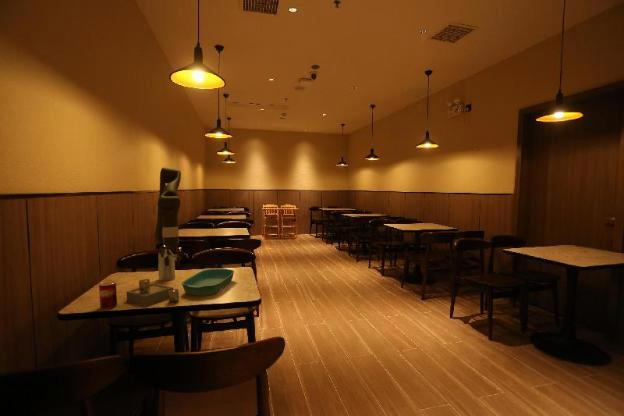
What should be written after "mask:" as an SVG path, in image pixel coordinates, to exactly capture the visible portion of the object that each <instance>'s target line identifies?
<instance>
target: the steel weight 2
mask: <svg viewBox="0 0 624 416" xmlns="http://www.w3.org/2000/svg"><path fill="white" fill-rule="evenodd" d="M179 293H180V292H179V289H178V288H173V289H171V290H168V299H167V300H168V302H167V303H168V304H177V303H179V302H180V298H179V297H180V296H179V295H180V294H179Z"/></svg>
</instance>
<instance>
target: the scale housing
mask: <svg viewBox="0 0 624 416" xmlns="http://www.w3.org/2000/svg"><path fill="white" fill-rule="evenodd" d="M153 285H154V286H159V287H163V288H167V289H164V290H161V291H158V292H154V293H151V294H148V295H143V294H139V293H136V292H133V291H137V290H139V287H138V288H134V289H131V290H128V291H126V292H125V293H126V302H129V303H132V304H135V305H140V306H143V307H148V306H151V305H154V304H156V303H159V302H162V301H165V300H168V290H171V289H174V287H172V286H169V285H168V286H167V285H164V284H159V283H151V284H150V286H153Z"/></svg>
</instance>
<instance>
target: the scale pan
mask: <svg viewBox="0 0 624 416" xmlns="http://www.w3.org/2000/svg"><path fill="white" fill-rule="evenodd" d="M164 289H167V288H163V287H159V286H154V285H153V286H150V292H148V293H139V290H137V291H133V292H136V293H139V294H143V295H148V294H151V293H154V292H158V291H161V290H164Z"/></svg>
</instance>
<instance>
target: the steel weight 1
mask: <svg viewBox="0 0 624 416" xmlns="http://www.w3.org/2000/svg"><path fill="white" fill-rule="evenodd" d="M150 280H151V279H150V278H149V279H148V278H145V279H139V280H138V288H139V293H148V292H150V285H151V284H150V283H151V281H150Z"/></svg>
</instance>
